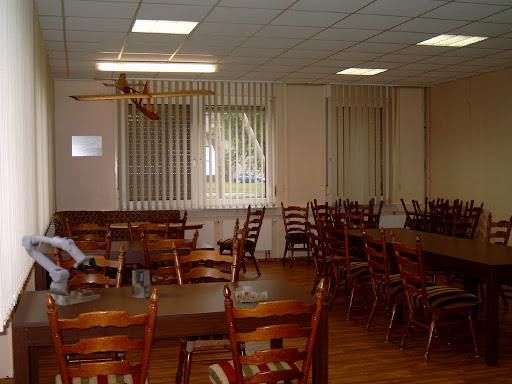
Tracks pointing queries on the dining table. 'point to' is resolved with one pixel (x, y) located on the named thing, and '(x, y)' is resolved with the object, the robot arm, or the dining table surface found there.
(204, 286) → the dining table surface
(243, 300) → the figure
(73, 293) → the beige square tray
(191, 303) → the dining table surface
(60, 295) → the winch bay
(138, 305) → the dining table surface
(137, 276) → the coffee box
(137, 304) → the dining table surface
